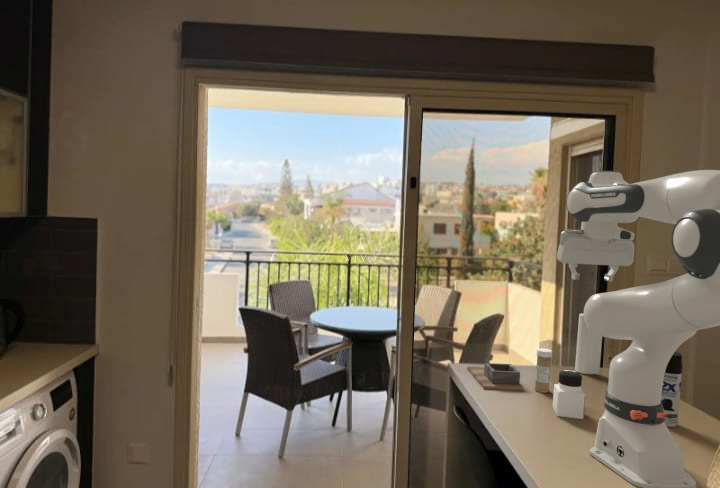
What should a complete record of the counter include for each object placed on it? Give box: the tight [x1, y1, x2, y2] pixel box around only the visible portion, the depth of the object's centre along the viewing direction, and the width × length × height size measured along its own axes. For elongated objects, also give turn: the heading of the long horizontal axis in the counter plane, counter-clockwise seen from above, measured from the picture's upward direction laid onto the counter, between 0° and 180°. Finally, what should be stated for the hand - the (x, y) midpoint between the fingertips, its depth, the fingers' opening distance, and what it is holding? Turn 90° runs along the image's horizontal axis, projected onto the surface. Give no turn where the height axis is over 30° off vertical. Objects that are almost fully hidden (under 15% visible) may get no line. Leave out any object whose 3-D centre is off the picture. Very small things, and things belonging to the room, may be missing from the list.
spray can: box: [661, 351, 683, 429], centre depth 140 cm, size 7×7×20 cm
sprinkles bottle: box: [534, 347, 553, 394], centre depth 161 cm, size 5×5×14 cm
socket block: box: [466, 362, 525, 391], centre depth 171 cm, size 20×13×5 cm, turn 3°
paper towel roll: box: [574, 313, 603, 375], centre depth 183 cm, size 7×6×21 cm
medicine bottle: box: [552, 369, 586, 420], centre depth 143 cm, size 7×7×12 cm
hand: (591, 280), depth 140 cm, fingers open, 8 cm apart
